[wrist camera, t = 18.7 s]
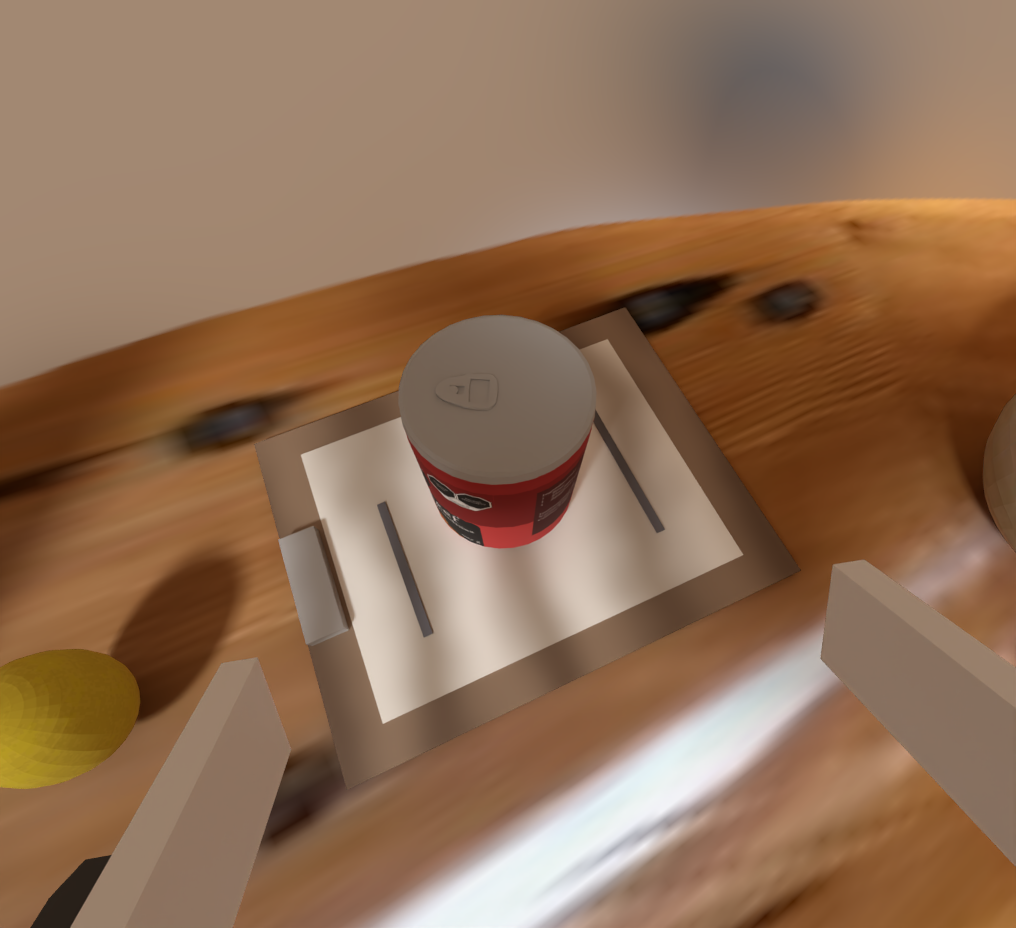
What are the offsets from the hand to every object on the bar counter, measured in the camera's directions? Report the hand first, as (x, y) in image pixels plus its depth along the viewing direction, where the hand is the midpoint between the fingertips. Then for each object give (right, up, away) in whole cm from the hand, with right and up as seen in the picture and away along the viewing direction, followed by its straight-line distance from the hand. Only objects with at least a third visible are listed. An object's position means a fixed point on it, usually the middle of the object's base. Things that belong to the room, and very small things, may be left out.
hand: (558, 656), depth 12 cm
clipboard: (-1, +2, +19) cm, 19 cm away
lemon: (-21, -8, +15) cm, 27 cm away
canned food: (-1, +3, +19) cm, 19 cm away
